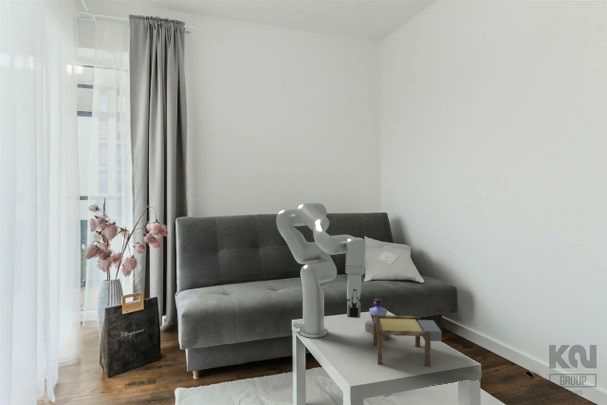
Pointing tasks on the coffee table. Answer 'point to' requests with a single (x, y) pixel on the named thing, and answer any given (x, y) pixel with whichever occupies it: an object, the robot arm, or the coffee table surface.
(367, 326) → the concrete fragment
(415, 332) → the frame
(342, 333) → the coffee table surface
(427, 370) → the coffee table surface
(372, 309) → the potion bottle
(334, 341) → the coffee table surface
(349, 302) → the smooth grey cube
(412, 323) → the trapdoor
